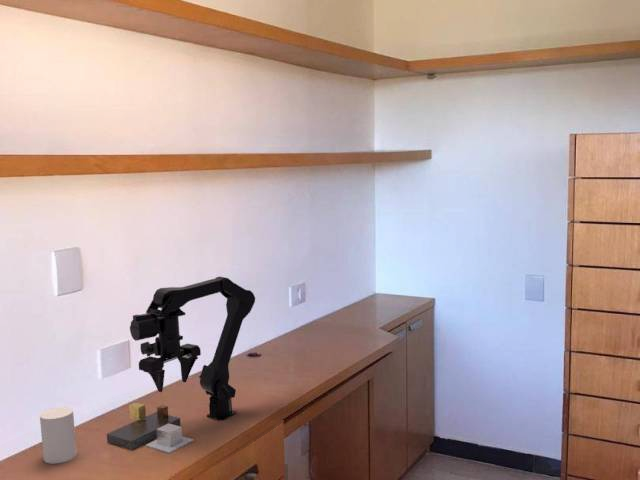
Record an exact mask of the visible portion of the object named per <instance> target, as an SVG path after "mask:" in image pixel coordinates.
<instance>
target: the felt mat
mask: <svg viewBox="0 0 640 480" xmlns="http://www.w3.org/2000/svg"><path fill="white" fill-rule="evenodd" d="M191 441H192V442H194V439H192V438H190V437H186V436H183V435H182V441H181V442H179V443H177V444H175V445H174V446H172V447H168V446H165V445H161V444H158V443H157V439H154V440H152V441H150V442H148V443H146V444H145V447H147V448H150V449H153V450H156V451H161V452H163V453H165V454H166V453H167V454H171V453H173V452H176V451H177V450H179V449H181V448H182V446H183V447H184V445H185V446H186V445H188V444H190V443H192V442H191ZM189 442H190V443H189ZM187 443H188V444H187ZM180 447H181V448H180Z"/></svg>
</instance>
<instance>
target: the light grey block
mask: <svg viewBox="0 0 640 480" xmlns="http://www.w3.org/2000/svg"><path fill="white" fill-rule="evenodd" d="M182 428H183V427H182V426H176V425H173V424H169V423H168V424H166V425H164V426H162V427H160V428H158V429H156V432H157V438H156V440H157V443H158V444H161V445H165V446H168V447H172V446H174V445H175V444H177V443H179V442H181V441H182V436H183V429H182Z"/></svg>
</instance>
